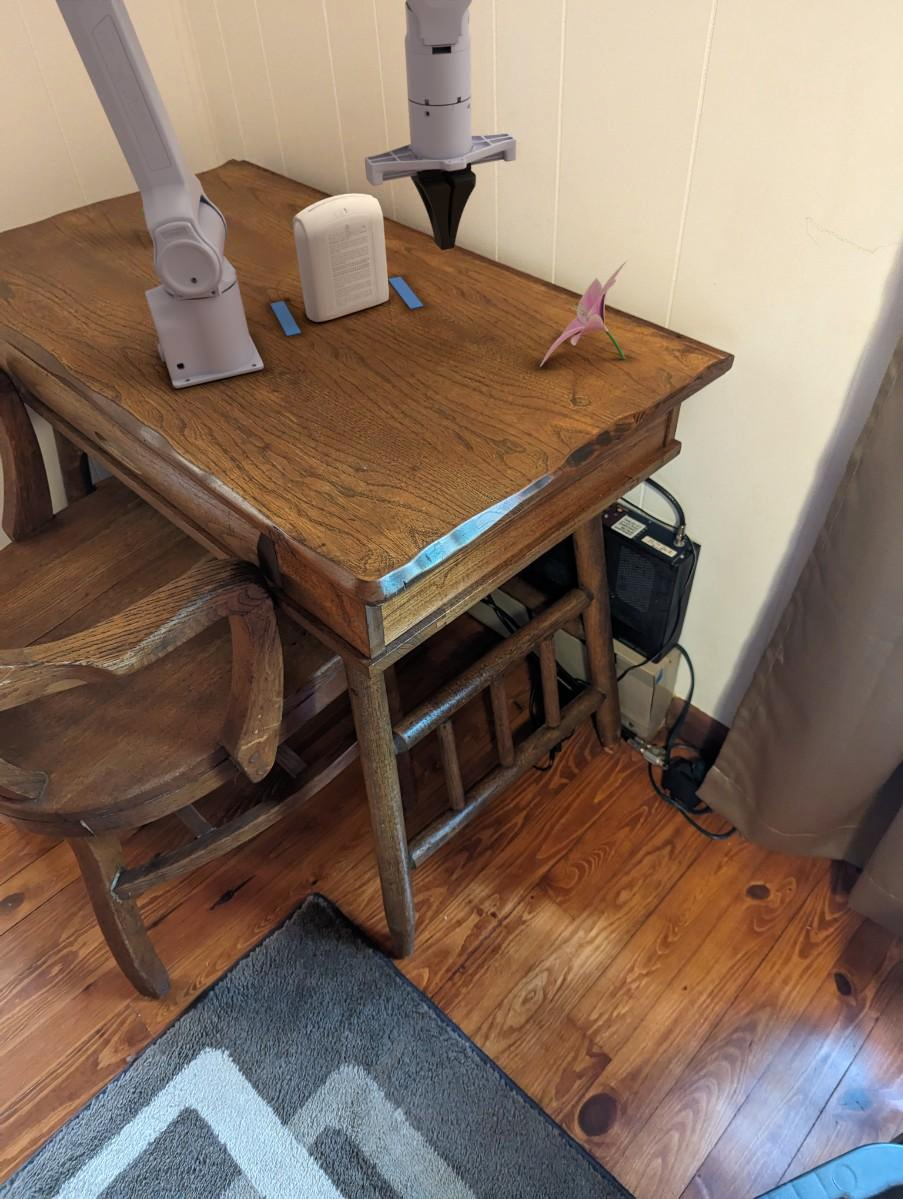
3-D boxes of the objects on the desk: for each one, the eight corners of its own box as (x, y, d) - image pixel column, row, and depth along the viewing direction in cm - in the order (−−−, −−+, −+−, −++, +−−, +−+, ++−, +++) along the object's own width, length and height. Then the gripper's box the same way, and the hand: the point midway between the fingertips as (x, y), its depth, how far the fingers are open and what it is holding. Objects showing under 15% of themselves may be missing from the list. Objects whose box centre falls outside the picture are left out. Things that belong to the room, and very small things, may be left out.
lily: (603, 325, 98) (565, 252, 93) (687, 321, 89) (651, 240, 84) (541, 397, 95) (498, 326, 90) (622, 401, 86) (580, 323, 80)
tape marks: (287, 336, 97) (287, 335, 97) (270, 304, 102) (270, 303, 102) (423, 306, 100) (423, 305, 100) (400, 277, 106) (400, 276, 106)
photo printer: (377, 287, 104) (367, 180, 95) (395, 301, 101) (386, 192, 92) (300, 313, 100) (281, 203, 91) (317, 328, 98) (299, 217, 89)
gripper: (376, 121, 74) (389, 275, 83) (531, 96, 77) (526, 247, 87) (352, 98, 78) (367, 246, 88) (499, 75, 82) (498, 220, 91)
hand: (444, 245), depth 88 cm, fingers closed
